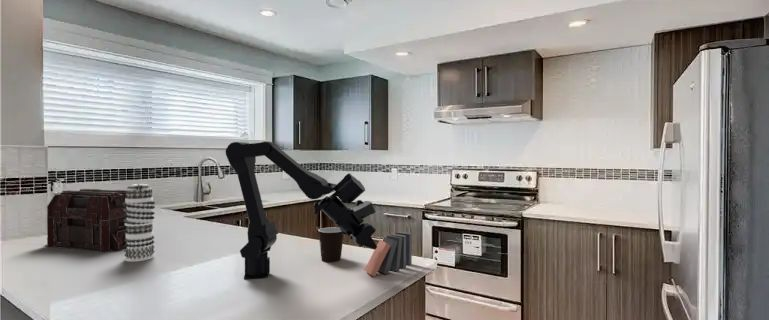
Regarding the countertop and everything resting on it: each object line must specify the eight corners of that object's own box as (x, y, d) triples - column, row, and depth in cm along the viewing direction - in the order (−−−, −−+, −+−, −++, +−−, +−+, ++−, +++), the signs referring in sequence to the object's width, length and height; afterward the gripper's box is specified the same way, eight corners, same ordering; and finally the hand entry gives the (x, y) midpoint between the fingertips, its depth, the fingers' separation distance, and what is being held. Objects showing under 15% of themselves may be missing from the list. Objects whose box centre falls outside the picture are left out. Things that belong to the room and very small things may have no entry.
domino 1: (370, 274, 111) (386, 243, 113) (364, 269, 116) (379, 239, 117) (374, 276, 111) (390, 245, 113) (368, 271, 116) (384, 241, 118)
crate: (39, 246, 145) (37, 191, 145) (88, 236, 164) (88, 187, 163) (111, 253, 136) (110, 194, 136) (155, 241, 155) (155, 189, 154)
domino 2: (384, 273, 113) (393, 240, 115) (374, 269, 117) (383, 237, 119) (388, 274, 114) (397, 241, 115) (378, 270, 118) (387, 238, 120)
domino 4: (403, 268, 119) (403, 236, 119) (389, 266, 122) (389, 234, 122) (405, 267, 121) (406, 235, 120) (391, 264, 123) (392, 233, 123)
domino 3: (395, 271, 116) (399, 237, 117) (383, 268, 119) (386, 235, 120) (399, 270, 117) (402, 237, 118) (386, 267, 120) (389, 235, 121)
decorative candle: (137, 263, 124) (136, 185, 124) (116, 260, 127) (115, 185, 127) (161, 255, 133) (161, 183, 132) (142, 253, 136) (141, 182, 135)
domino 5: (409, 265, 123) (409, 234, 123) (395, 262, 125) (395, 232, 125) (411, 263, 124) (411, 233, 124) (397, 261, 127) (398, 231, 127)
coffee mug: (339, 263, 124) (339, 233, 124) (314, 262, 126) (314, 231, 125) (349, 254, 135) (349, 226, 135) (326, 253, 137) (326, 225, 137)
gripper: (368, 195, 103) (406, 233, 107) (349, 189, 120) (382, 222, 125) (339, 227, 100) (379, 264, 104) (325, 215, 118) (359, 248, 122)
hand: (375, 248), depth 114 cm, fingers closed
